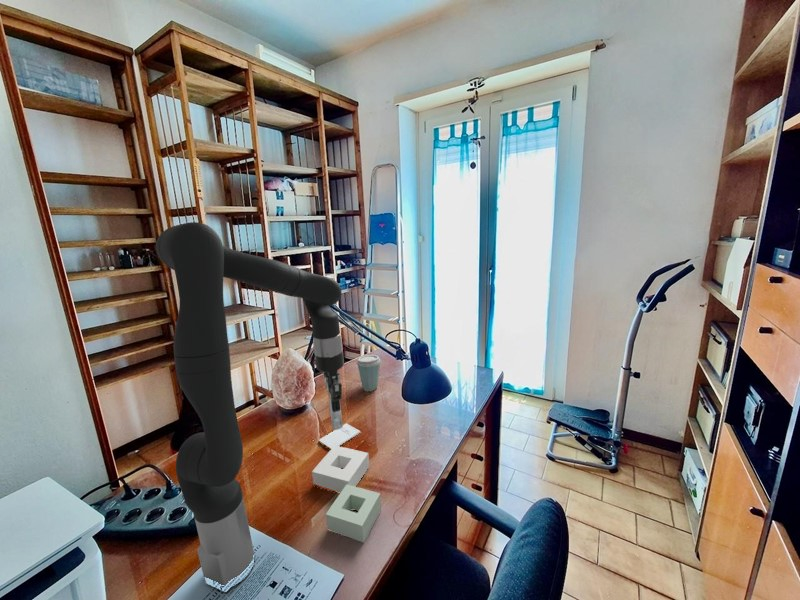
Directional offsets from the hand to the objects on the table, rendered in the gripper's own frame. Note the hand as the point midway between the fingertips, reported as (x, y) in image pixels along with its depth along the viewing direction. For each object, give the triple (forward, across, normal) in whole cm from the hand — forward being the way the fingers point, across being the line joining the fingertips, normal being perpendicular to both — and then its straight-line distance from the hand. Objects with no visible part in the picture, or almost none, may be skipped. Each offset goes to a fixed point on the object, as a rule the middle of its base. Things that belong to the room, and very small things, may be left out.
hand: (335, 407), depth 95 cm
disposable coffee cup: (+23, -48, +25) cm, 58 cm away
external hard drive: (+24, -19, +4) cm, 30 cm away
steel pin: (+6, 0, 0) cm, 6 cm away
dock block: (+23, 0, 0) cm, 23 cm away
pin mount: (+23, +16, -1) cm, 28 cm away
